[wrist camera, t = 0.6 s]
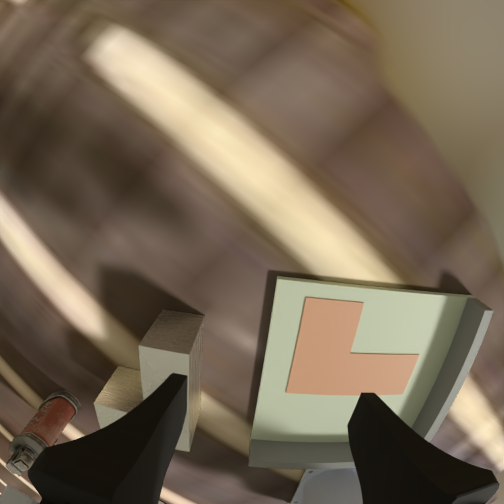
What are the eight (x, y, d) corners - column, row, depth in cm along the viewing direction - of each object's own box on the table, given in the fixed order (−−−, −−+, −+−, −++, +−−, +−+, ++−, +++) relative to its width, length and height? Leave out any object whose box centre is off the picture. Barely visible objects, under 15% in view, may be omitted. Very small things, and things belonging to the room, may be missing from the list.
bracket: (200, 408, 24) (189, 451, 19) (122, 392, 24) (100, 429, 19) (204, 315, 21) (189, 354, 16) (112, 300, 21) (79, 331, 16)
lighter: (56, 427, 26) (18, 485, 16) (35, 407, 26) (-8, 461, 16) (87, 408, 25) (42, 478, 15) (62, 384, 24) (10, 450, 14)
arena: (408, 439, 24) (417, 460, 21) (249, 440, 24) (248, 466, 21) (472, 295, 20) (493, 310, 17) (277, 275, 20) (279, 294, 17)
